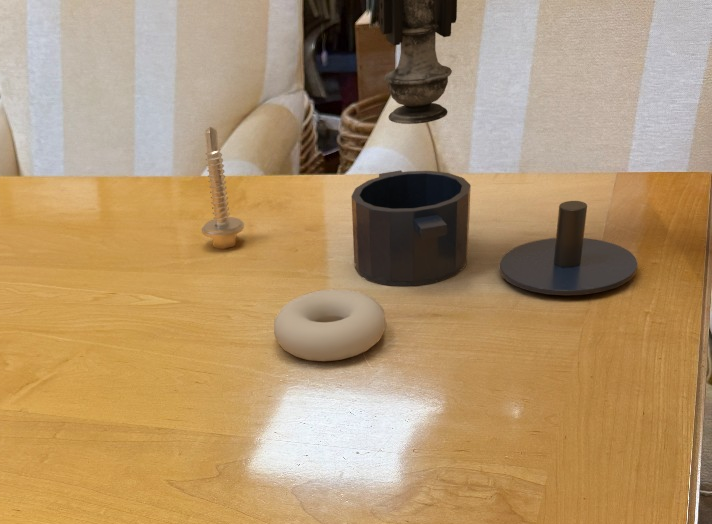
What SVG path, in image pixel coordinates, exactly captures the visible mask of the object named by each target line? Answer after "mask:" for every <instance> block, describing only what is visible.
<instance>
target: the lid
mask: <svg viewBox="0 0 712 524" xmlns="http://www.w3.org/2000/svg"><path fill="white" fill-rule="evenodd" d="M587 213H588V204H587V203H586V202H585V201H581V200H567V201H563V202H561V203H560V204H559V206H558V213H557V224H556V234H555V237H552V238H543V239H538V240H534V241H530V242H529V241H528V242H526V243H522V244H519V245H518V246H515V247H513V248H511V249H510V250H508V251H507V252H506V253H505V254H504V255H503V256H502V257H501V258H500V260H499V272H500V276H502V278H503V279H504V280H505V281H506V282H508V283H510V284H511V285H513V286H515V287H517V288H520V289H522V290H526V291H529V292H533V293H538V294H544V295H552V296H553V295H554V296H582V295H583V296H584V295H591V294H597V293H602V292H605V291H610V290H613V289H616V288H619V287H620V286H623V285H625V284H626V283H628V282H629V281H631V279H632V278H634V276H635V275H636V273H637V270H638V260H637V258H636V256H635V255H634V254H633V253H632V252H631V251H630V250H628V249H627V248H625V247H622V246H621V245H618V244H616V243H612V242H609V241H606V240H600V239H595V238H587V237H585V230H586V222H587V221H586V219H587Z"/></svg>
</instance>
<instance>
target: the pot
mask: <svg viewBox="0 0 712 524" xmlns="http://www.w3.org/2000/svg"><path fill="white" fill-rule="evenodd" d="M471 187H472V185H471V184H470V182H468V181H467V180H466V178H464V177H462V176H459V175H456V174H453V173H450V172H444V171H435V170H410V171H409V170H407V171H402V169H401V170H400V169H399V170H396V171H394V170H393V171H389V172H382V173H378V176H377V177H375V178H371V179H368V180H366V181H365V182H363V183H361V184H360V185H358V186H356V187H355V189H354V191H353V192H352V194H351V212H352V213H351V217H352V218H351V219H352V243H353V244H352V245H353V262H354V266H355V271H356V272H357V274H358V276H360V277H361V278H363V279H365V280H367V281H369V282H372V283H375V284H379V285H385V286H390V287H391V286H393V287H414V286H424V285H430V284H434V283H438V282H442V281H444V280H447V279H449V278H452V277H454V276H455V275H457V274H459V273H461V272H462V271H463V269H464V268H466V265H467V263H468V256H469V242H470V241H469V240H470V239H469V237H470V213H471V210H470V208H471Z"/></svg>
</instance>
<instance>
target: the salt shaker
mask: <svg viewBox="0 0 712 524" xmlns="http://www.w3.org/2000/svg"><path fill="white" fill-rule="evenodd" d="M438 27H439V23H437V22H436V21H435V0H402V43H400V53H399V54H400V55H399V59H398V64H397V66H396V67H395V68H394V69H393V70H391V71H389V72H386V74H385V76H384V81H385V82H387V85H388V86H387V87H388V91H389V94H390V96H391V98H392V99H393V101H395V102H396V103H397V104H398V105H401V106H398V107H396V108H395V109H393V111H391V112H390V113H389V114H388V120H389V121H391V122H392V123H395V124H401V125H416V124H417V125H418V124H424V123H431V122H434V121H437V120H441V119H443V118H445V117H446V116H447V115H448V110H447V108H446V107H444V106H443V105H441V104H439V103H434V102H436V101H438V100H439V99H440V98H441V97H442V96H443V94H444V93H445V91H446V88H447V85H448V84H449V77H450V76H451V74H452V73H453V72H452V71H453V70H452V69H451V67H449V66H447V65H443V64H441V63H440V62H439V60H438V56H437V51H436V36H437V35H436V34H437V33H436V29H437V28H438Z"/></svg>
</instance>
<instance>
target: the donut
mask: <svg viewBox="0 0 712 524" xmlns="http://www.w3.org/2000/svg"><path fill="white" fill-rule="evenodd" d="M386 325H387V321H386V315H385V310H384V308H383V306H382V305H381V304H380V303H379V302H378V301H377V300H376V299H375V298H373V297H372V296H370V295H368V294H367V293H364V292H362V291H357V290H351V289H343V288H342V289H341V288H340V289H339V288H329V289H320V290H316V291H312V292H308V293H304V294H302V295H299V296H297V297H295V298H293V299H292V300H290V301H288V302H287V303H285V304H284V305H283V306H282V307H281V309H280V310H279V311H278V312H277V314H276V316H275V317H274V324H273V335H274V338H275V340H276V341H277V342H278V344H279V345H280V347H281V348H282V350H284V351H285V352H287V353H289V354H291V355H293V356H294V357H296V358H299V359H303V360H307V361H315V362H332V361H341V360H345V359H349V358H353V357H356V356H358V355H361V354H363V353H365V352H367V351H368V350H369V349H371V348H372V347H373V346H374V345H376V344H377V343H378V342H379V341H380V339H381V338H382V336H383V334H384V332H385V330H386V327H387V326H386Z"/></svg>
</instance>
